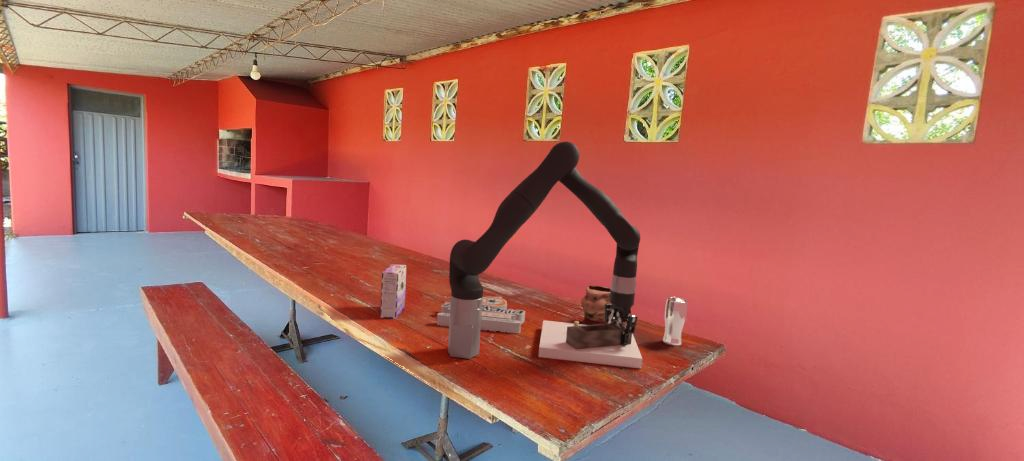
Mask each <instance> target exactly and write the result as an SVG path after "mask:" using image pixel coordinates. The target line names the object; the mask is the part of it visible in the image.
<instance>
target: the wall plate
mask: <svg viewBox="0 0 1024 461" xmlns="http://www.w3.org/2000/svg"><path fill="white" fill-rule="evenodd" d="M582 325H584V323H580V321H578V320H574V321H573V322H561V321H554V320H553V321H552V320H542V327H541V332H540V333H541V334H540V341H539V346H538V347H539V348H538V358H545V359H553V360H561V361H562V360H563V361H570V362H571V361H572V362H580V363H590V364H591V363H592V364H596V365H597V364H598V365H605V366H607V365H608V366H615V367H623V368H624V367H625V368H634V369H642V364H643V357H642V353H641V351H640V348H639V347H638V343H637V342H636V341H637V340H636V338H635V336H634V333H633V334H632V339H631V344H627V345H623V346H622V345H616V346H607V347H597V348H587V349H577V350H576V349H574V348H573V347H572V346H570V345H569V344H568V343H566V335H567V327H569V326H582Z"/></svg>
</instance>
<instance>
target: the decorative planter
mask: <svg viewBox="0 0 1024 461" xmlns="http://www.w3.org/2000/svg"><path fill="white" fill-rule="evenodd" d="M610 290H611V287H606V286H601V285H589V286H588V287H586V291H585V295H584V296H583V297H582V298H581V302H580V304H581V305H580V306H581V308H582V310H583V312H584V315H583V317H584V318H583V322H582V324H583V325H595V324H608V323H607V322H605V304H611V303H610V302H609V300H610ZM609 317H610V315H608V318H609Z"/></svg>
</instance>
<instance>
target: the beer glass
mask: <svg viewBox="0 0 1024 461" xmlns="http://www.w3.org/2000/svg"><path fill="white" fill-rule="evenodd" d="M664 306H665V308H664V325H665V326H664V335H663V338H662V342H663V343H664V344H666V345H669V346H676V347H677V346H681V345H682V332H683V329H684V325H685V323H686V319H687V313H688V300H687V299H685V298H683V297H678V296H677V297H676V296H669V297H668V296H667V298H666V302H665V305H664Z"/></svg>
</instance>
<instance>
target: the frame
mask: <svg viewBox="0 0 1024 461" xmlns="http://www.w3.org/2000/svg"><path fill="white" fill-rule="evenodd" d="M624 327H625V330H626V326H624ZM630 330H631V327H630ZM621 334H622V330H621V327H620V326H619V322H617V323H608V324H595V325H584V324H583V325H582V326H569V327H567V335H566V343H568V344H569V345H570V346H572V347H573V348H574V349H576V350H577V349H587V348H597V347H607V346H616V345H621V344H620V343H621ZM631 339H632V334H629V338H628V344H631Z"/></svg>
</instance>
